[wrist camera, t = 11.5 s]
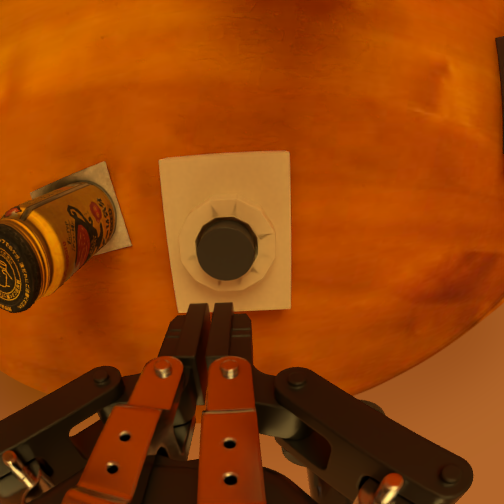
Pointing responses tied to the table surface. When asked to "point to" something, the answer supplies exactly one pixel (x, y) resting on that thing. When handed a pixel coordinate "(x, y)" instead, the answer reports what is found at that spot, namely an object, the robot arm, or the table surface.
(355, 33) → the table surface
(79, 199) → the condiment
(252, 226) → the housing
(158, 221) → the table surface
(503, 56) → the panel
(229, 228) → the button
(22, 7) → the table surface
